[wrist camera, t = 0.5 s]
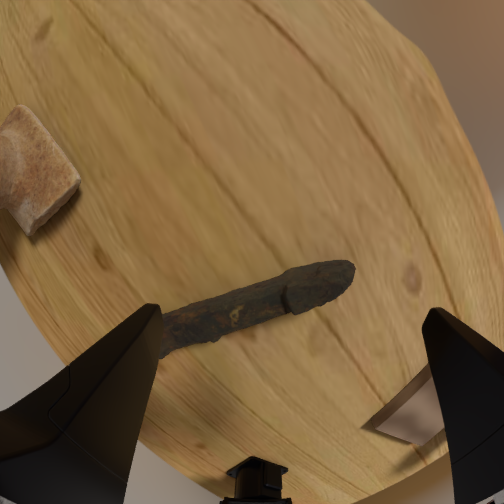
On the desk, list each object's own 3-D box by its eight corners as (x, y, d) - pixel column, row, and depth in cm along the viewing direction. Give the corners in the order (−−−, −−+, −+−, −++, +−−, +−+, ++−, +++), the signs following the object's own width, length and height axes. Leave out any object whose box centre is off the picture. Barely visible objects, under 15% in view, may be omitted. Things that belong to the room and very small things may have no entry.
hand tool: (165, 343, 27) (151, 370, 22) (148, 309, 26) (129, 332, 21) (353, 286, 25) (371, 308, 20) (343, 246, 24) (361, 261, 19)
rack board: (417, 437, 30) (427, 457, 26) (370, 418, 29) (380, 443, 24) (491, 361, 27) (507, 377, 23) (461, 323, 25) (482, 341, 21)
